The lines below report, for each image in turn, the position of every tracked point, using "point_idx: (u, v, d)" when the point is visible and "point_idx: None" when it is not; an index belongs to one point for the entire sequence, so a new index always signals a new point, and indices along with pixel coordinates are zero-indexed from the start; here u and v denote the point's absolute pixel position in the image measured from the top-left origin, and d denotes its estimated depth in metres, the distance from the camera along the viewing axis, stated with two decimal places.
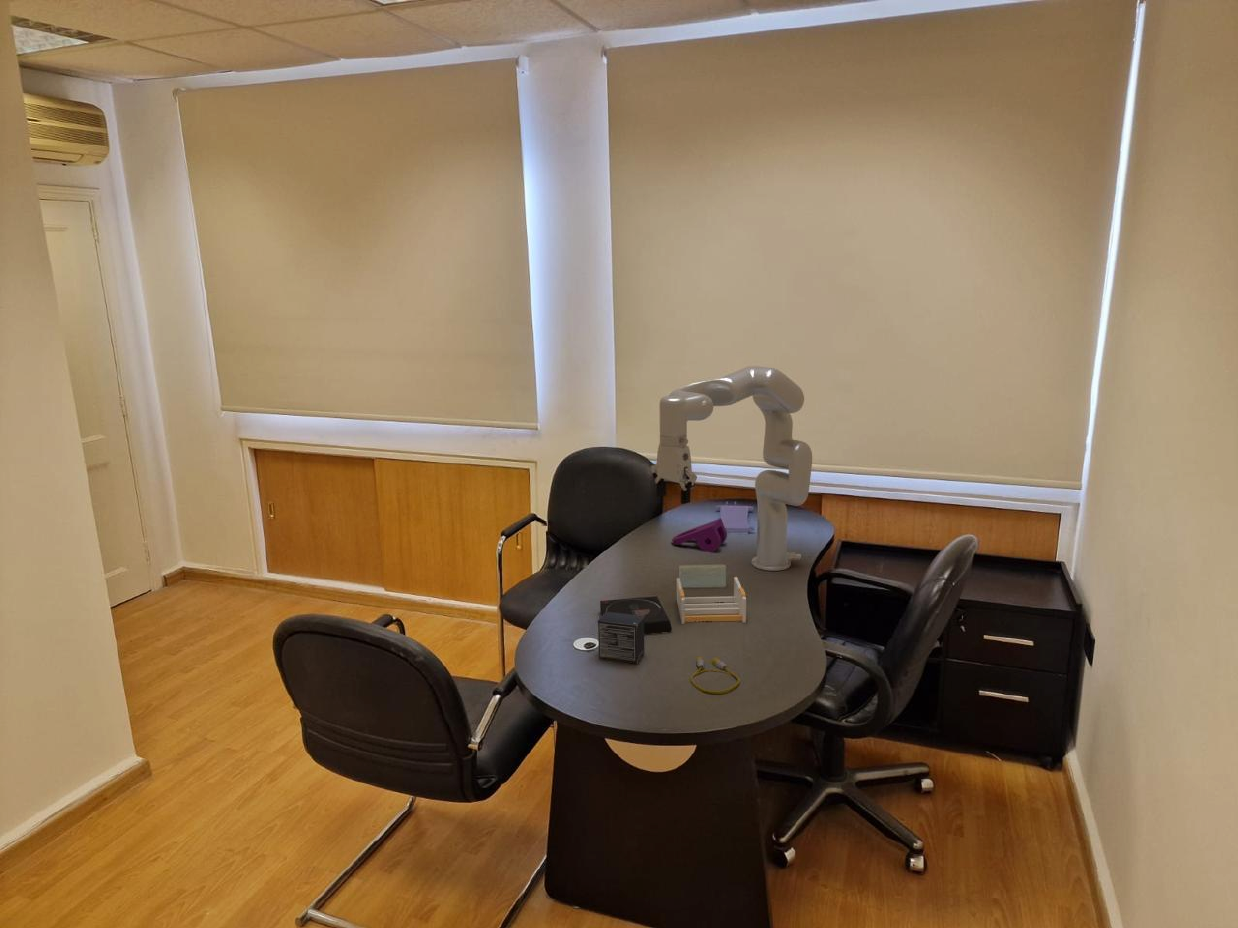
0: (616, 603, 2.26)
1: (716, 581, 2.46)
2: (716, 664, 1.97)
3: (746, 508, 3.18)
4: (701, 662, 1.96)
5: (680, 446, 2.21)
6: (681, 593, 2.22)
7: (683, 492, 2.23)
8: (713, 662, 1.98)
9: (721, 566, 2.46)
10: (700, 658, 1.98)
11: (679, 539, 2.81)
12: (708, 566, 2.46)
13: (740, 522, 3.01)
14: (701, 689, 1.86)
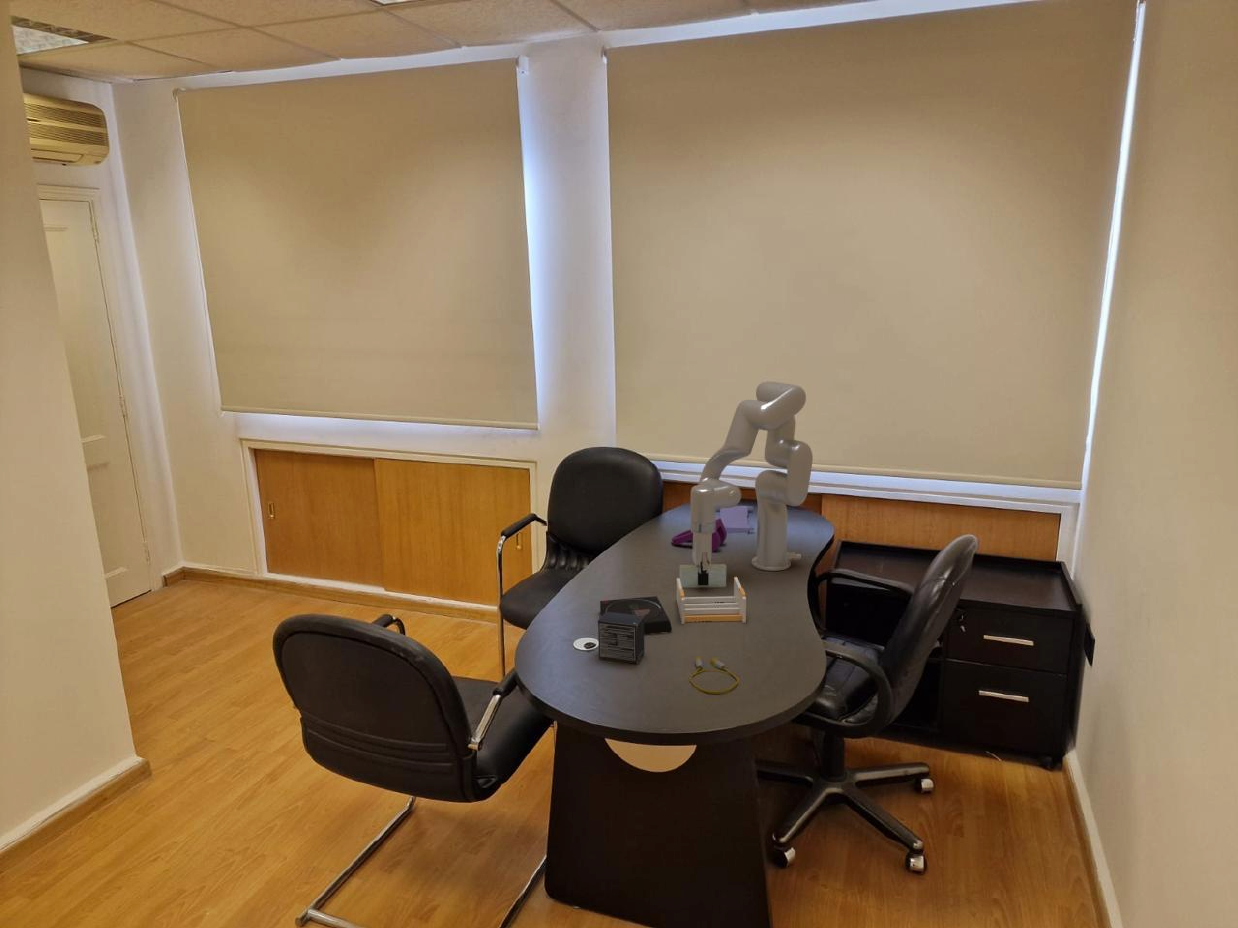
0: (616, 603, 2.26)
1: (716, 580, 2.46)
2: (714, 664, 1.97)
3: (746, 508, 3.18)
4: (699, 662, 1.96)
5: None
6: (681, 593, 2.22)
7: None
8: (711, 662, 1.98)
9: (721, 565, 2.45)
10: (698, 658, 1.98)
11: (679, 539, 2.81)
12: (708, 565, 2.46)
13: (740, 522, 3.01)
14: (701, 689, 1.86)
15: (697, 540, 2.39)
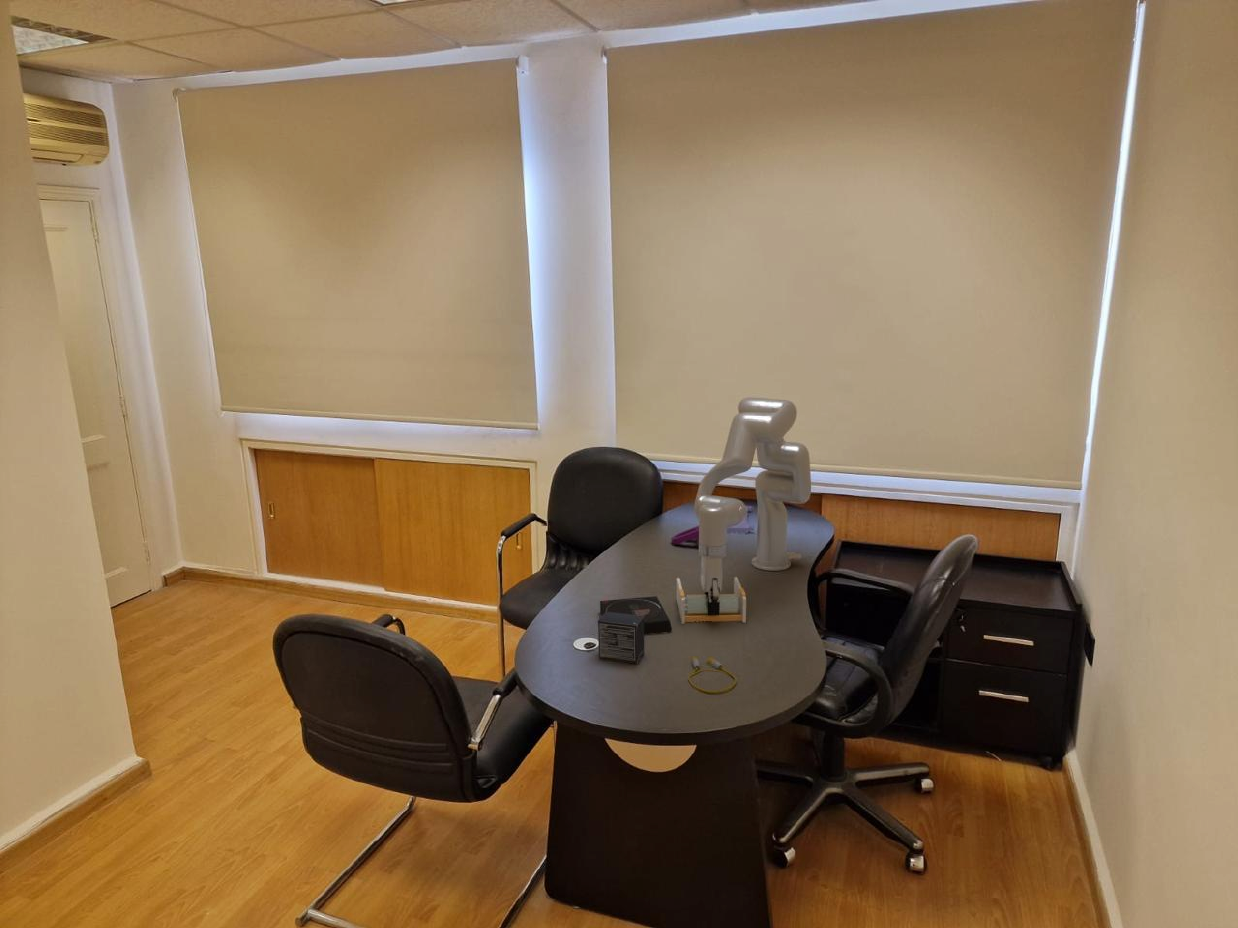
0: (616, 603, 2.26)
1: (727, 612, 2.23)
2: (711, 664, 1.97)
3: None
4: (697, 662, 1.96)
5: None
6: (681, 593, 2.22)
7: None
8: (708, 662, 1.98)
9: (732, 596, 2.23)
10: (695, 658, 1.98)
11: (679, 539, 2.81)
12: None
13: None
14: (700, 690, 1.86)
15: (706, 565, 2.17)
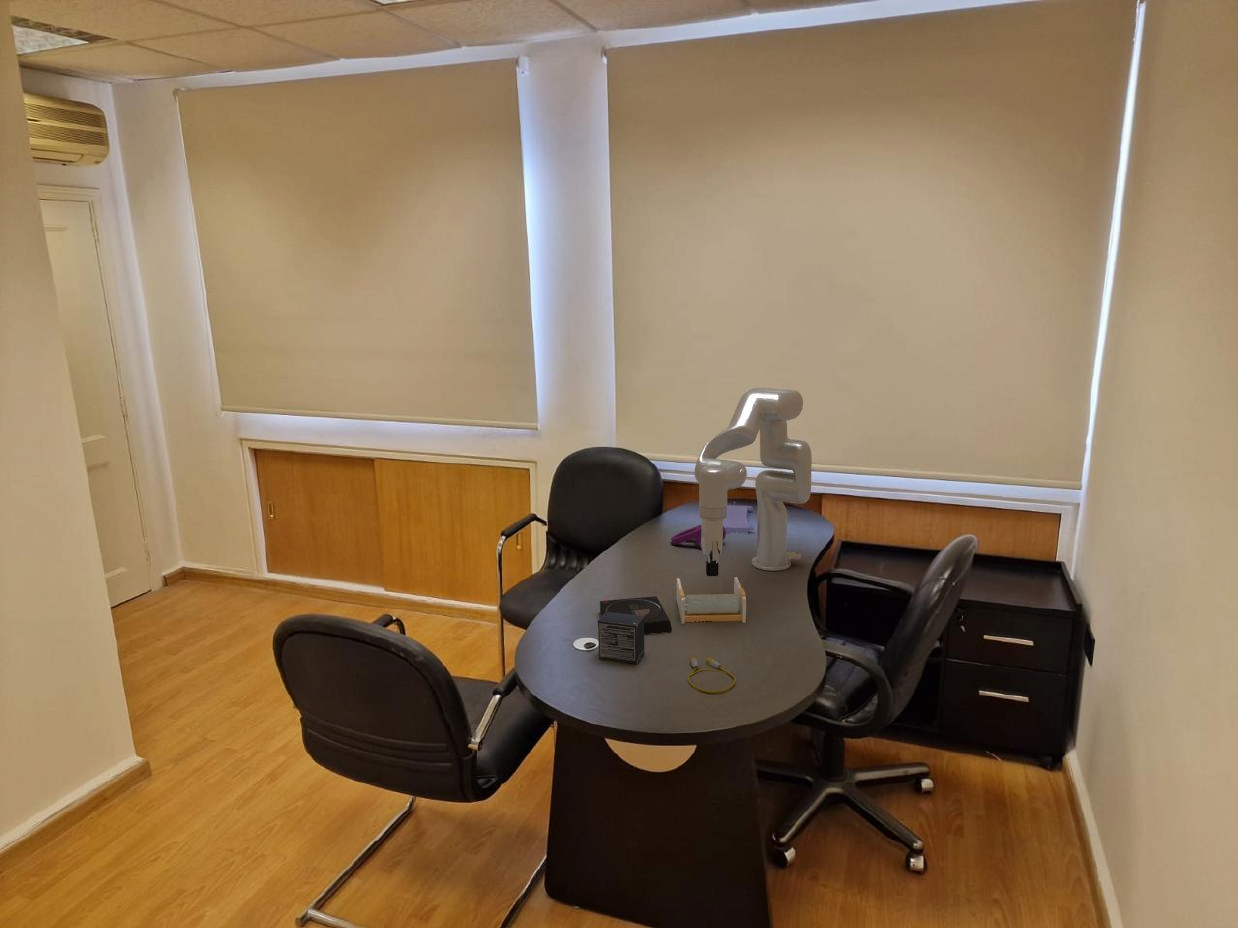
0: (616, 603, 2.26)
1: (727, 612, 2.23)
2: (710, 664, 1.97)
3: (745, 508, 3.18)
4: (696, 662, 1.96)
5: None
6: (681, 593, 2.22)
7: None
8: (707, 662, 1.98)
9: (732, 596, 2.23)
10: (694, 658, 1.98)
11: (678, 539, 2.81)
12: (718, 596, 2.23)
13: (740, 522, 3.01)
14: (700, 689, 1.86)
15: (707, 527, 2.14)
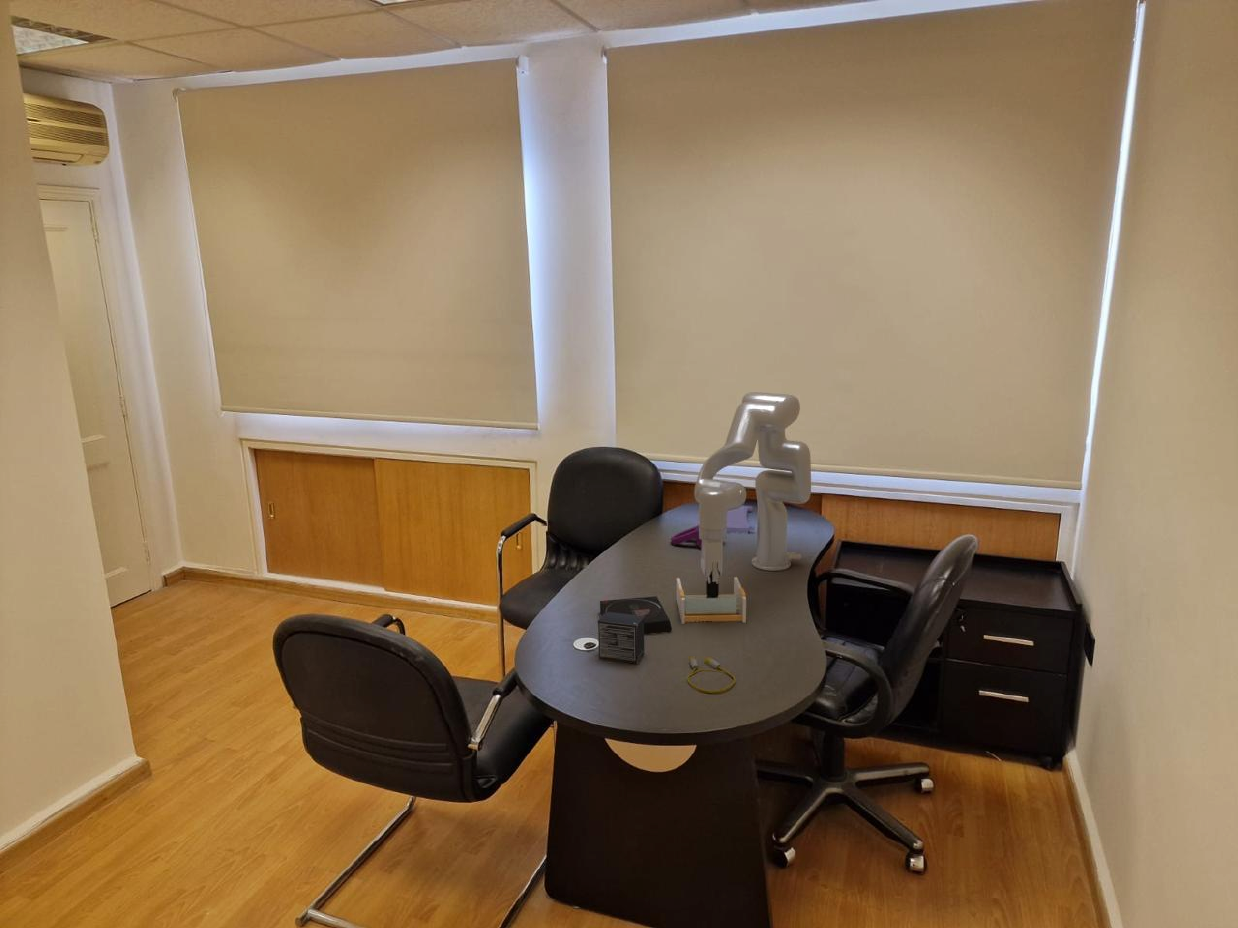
0: (616, 603, 2.26)
1: (725, 612, 2.23)
2: (709, 664, 1.97)
3: (745, 508, 3.18)
4: (695, 662, 1.96)
5: None
6: (681, 593, 2.22)
7: None
8: (706, 662, 1.98)
9: (731, 596, 2.23)
10: (693, 658, 1.98)
11: (678, 539, 2.81)
12: (716, 596, 2.23)
13: (740, 522, 3.01)
14: (699, 689, 1.86)
15: (707, 548, 2.16)
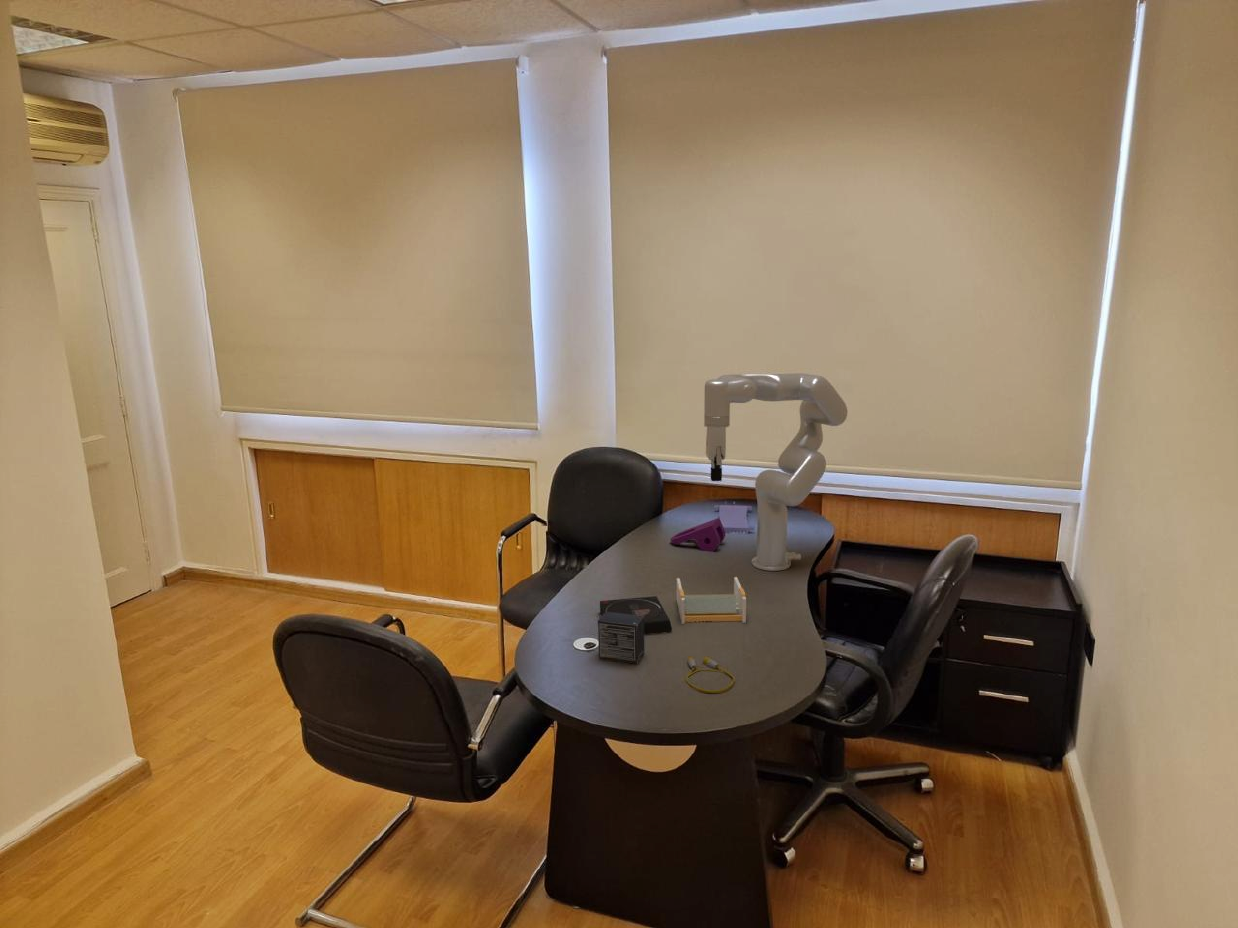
0: (616, 603, 2.26)
1: (725, 612, 2.23)
2: (708, 663, 1.97)
3: (745, 508, 3.18)
4: (693, 662, 1.96)
5: None
6: (681, 593, 2.22)
7: None
8: (704, 661, 1.98)
9: (731, 596, 2.23)
10: (691, 658, 1.98)
11: (678, 539, 2.81)
12: (716, 596, 2.23)
13: (740, 522, 3.01)
14: (699, 689, 1.86)
15: (711, 434, 2.37)
